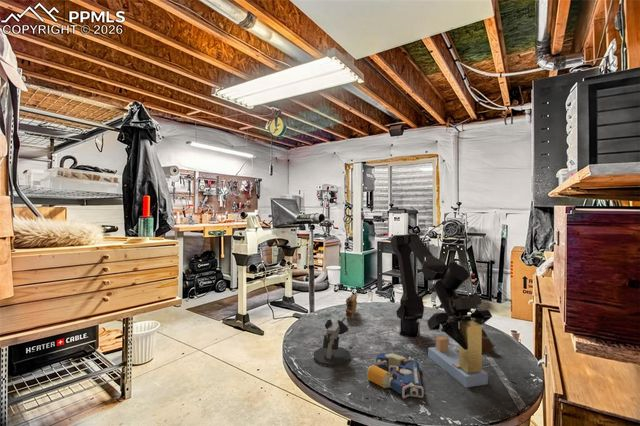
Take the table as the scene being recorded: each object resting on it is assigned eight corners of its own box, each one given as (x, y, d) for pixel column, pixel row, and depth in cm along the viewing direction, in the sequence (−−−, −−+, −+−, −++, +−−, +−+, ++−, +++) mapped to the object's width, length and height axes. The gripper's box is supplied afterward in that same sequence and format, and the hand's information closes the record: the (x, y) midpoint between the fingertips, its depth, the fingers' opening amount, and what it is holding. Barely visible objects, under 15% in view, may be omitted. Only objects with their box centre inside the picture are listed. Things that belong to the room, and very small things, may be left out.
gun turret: (358, 343, 111) (358, 308, 111) (345, 371, 92) (345, 328, 92) (325, 338, 115) (325, 305, 115) (306, 364, 96) (306, 323, 96)
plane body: (428, 356, 101) (428, 335, 101) (446, 354, 103) (446, 333, 102) (465, 387, 83) (465, 362, 83) (487, 384, 85) (487, 359, 85)
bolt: (480, 340, 118) (486, 357, 104) (467, 332, 119) (472, 347, 105) (488, 328, 117) (496, 343, 103) (476, 320, 118) (481, 334, 104)
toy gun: (364, 395, 80) (424, 405, 77) (364, 379, 81) (424, 388, 77) (370, 359, 101) (418, 366, 97) (371, 346, 101) (418, 352, 97)
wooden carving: (347, 310, 148) (347, 290, 148) (357, 311, 147) (357, 290, 147) (344, 322, 132) (344, 299, 132) (354, 323, 131) (354, 300, 131)
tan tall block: (459, 367, 88) (459, 322, 88) (472, 365, 89) (472, 320, 89) (467, 373, 84) (467, 326, 84) (481, 371, 85) (481, 325, 85)
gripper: (433, 286, 88) (458, 340, 77) (487, 282, 92) (519, 333, 82) (418, 304, 96) (439, 356, 85) (469, 300, 100) (495, 348, 90)
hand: (473, 348), depth 85 cm, fingers closed on tan tall block, 4 cm apart
